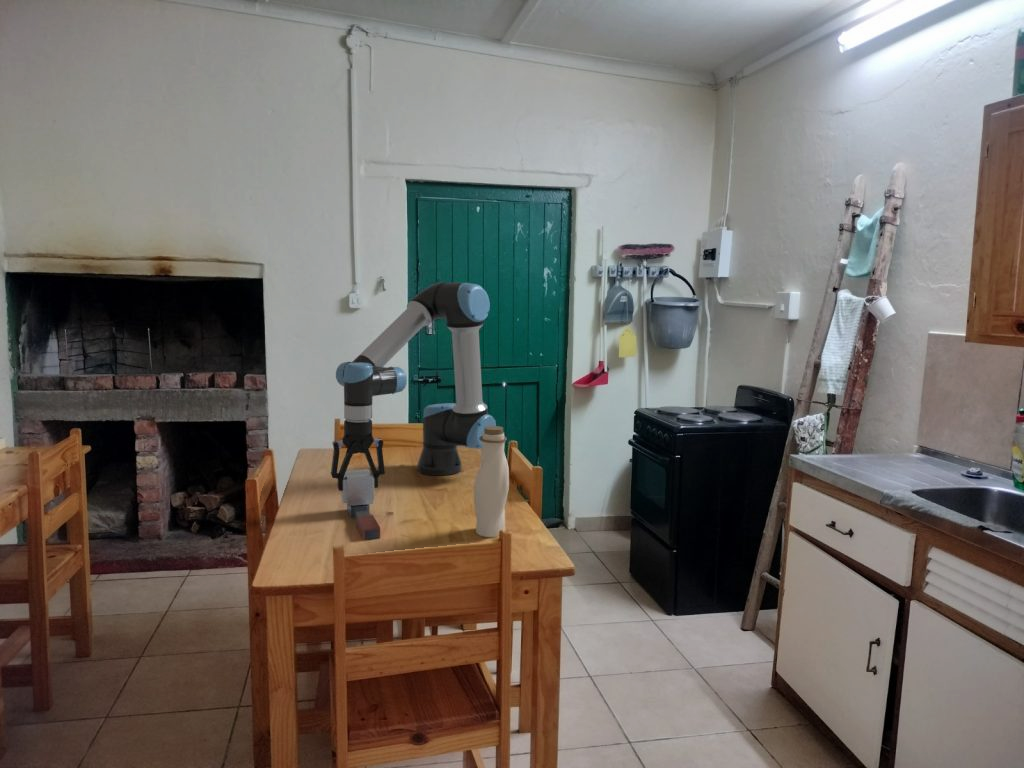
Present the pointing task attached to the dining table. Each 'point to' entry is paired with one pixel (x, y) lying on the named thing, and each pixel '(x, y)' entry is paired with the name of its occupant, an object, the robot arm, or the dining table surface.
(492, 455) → the water bottle
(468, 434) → the robot arm
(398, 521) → the dining table surface
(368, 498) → the grey stone cube
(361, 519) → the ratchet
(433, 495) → the dining table surface
